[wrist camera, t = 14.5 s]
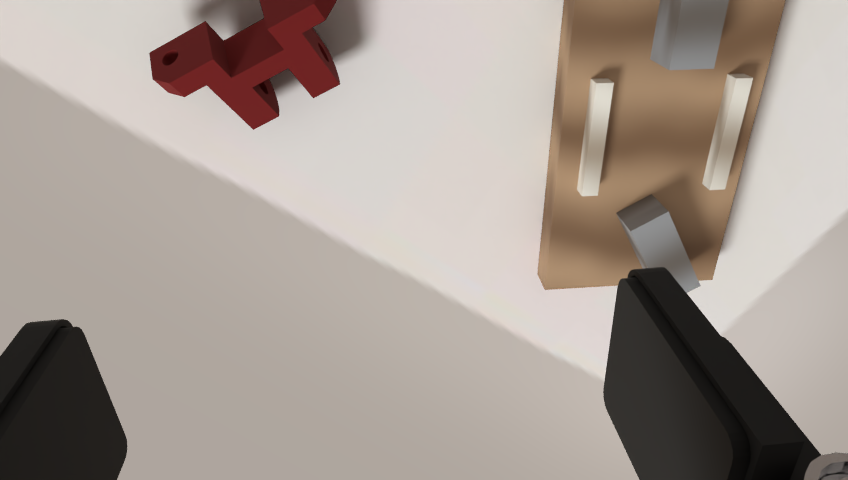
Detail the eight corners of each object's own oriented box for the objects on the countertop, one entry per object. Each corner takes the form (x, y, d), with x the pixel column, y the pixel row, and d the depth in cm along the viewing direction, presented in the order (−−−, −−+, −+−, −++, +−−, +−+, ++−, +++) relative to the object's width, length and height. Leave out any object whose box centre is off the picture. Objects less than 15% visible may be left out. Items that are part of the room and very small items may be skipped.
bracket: (330, -6, 29) (154, 91, 31) (377, 69, 34) (224, 149, 35) (317, -42, 30) (149, 52, 32) (364, 35, 35) (217, 114, 37)
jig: (570, -69, 33) (598, -64, 30) (781, -72, 34) (835, -68, 30) (537, 274, 44) (554, 311, 40) (698, 264, 45) (730, 300, 41)
